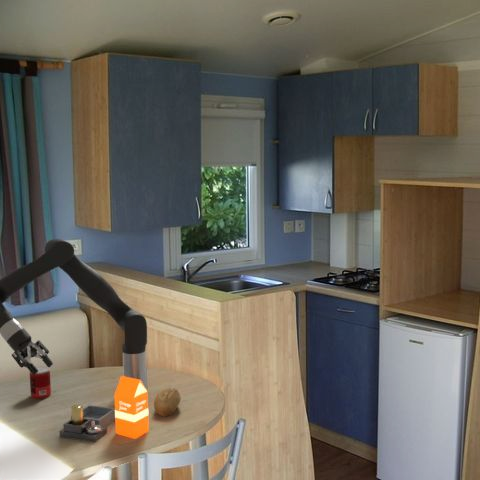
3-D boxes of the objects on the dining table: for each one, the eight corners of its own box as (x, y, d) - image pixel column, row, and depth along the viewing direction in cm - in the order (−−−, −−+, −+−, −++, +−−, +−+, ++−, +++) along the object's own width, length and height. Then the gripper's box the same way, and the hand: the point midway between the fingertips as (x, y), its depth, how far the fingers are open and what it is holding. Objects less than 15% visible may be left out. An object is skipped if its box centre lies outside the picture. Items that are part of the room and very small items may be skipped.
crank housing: (72, 427, 258) (71, 411, 257) (106, 432, 253) (106, 416, 252) (59, 436, 251) (58, 419, 250) (94, 442, 246) (93, 424, 245)
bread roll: (183, 403, 281) (183, 383, 279) (177, 418, 266) (176, 397, 265) (159, 402, 281) (158, 382, 280) (151, 417, 267) (150, 396, 265)
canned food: (54, 393, 292) (53, 367, 291) (43, 400, 285) (42, 373, 283) (38, 391, 295) (37, 365, 293) (27, 398, 287) (25, 371, 286)
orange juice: (134, 439, 248) (132, 383, 245) (115, 433, 253) (113, 378, 250) (149, 431, 255) (147, 376, 252) (130, 425, 259) (128, 372, 256)
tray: (89, 415, 269) (88, 404, 269) (116, 418, 265) (115, 408, 265) (71, 426, 259) (71, 416, 258) (99, 431, 255) (99, 420, 254)
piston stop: (76, 425, 255) (75, 403, 254) (86, 427, 253) (85, 405, 252) (70, 429, 251) (69, 408, 250) (79, 431, 250) (78, 409, 249)
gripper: (7, 333, 248) (37, 369, 246) (33, 323, 261) (61, 357, 259) (-4, 346, 251) (25, 382, 249) (21, 336, 264) (49, 369, 262)
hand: (43, 369), depth 254 cm, fingers open, 8 cm apart
